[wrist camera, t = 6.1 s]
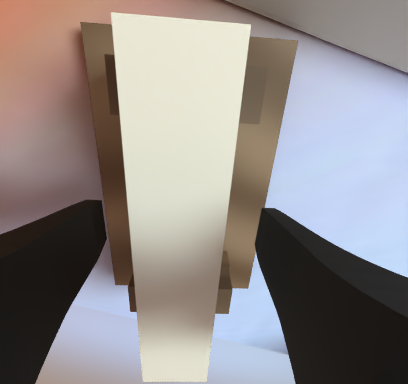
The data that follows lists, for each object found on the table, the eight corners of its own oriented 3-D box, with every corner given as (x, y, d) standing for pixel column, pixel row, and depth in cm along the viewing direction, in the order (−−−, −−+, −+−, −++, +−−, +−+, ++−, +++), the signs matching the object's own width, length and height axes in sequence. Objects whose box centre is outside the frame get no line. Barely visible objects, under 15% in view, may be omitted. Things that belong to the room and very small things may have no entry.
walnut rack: (245, 276, 18) (258, 330, 14) (120, 272, 18) (97, 327, 14) (288, 45, 12) (338, 21, 8) (91, 28, 11) (30, -8, 7)
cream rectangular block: (203, 294, 15) (206, 381, 11) (159, 293, 15) (142, 381, 11) (225, 56, 9) (251, 24, 5) (153, 50, 9) (110, 12, 5)
